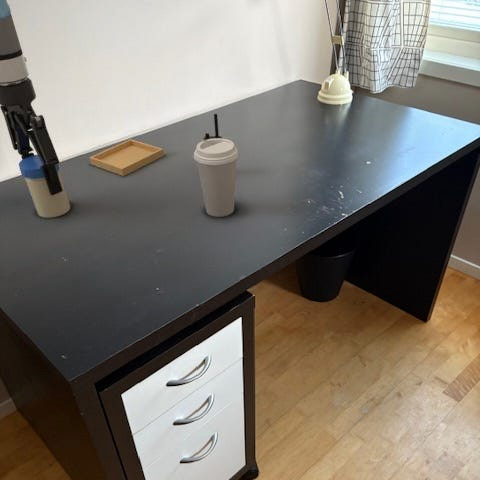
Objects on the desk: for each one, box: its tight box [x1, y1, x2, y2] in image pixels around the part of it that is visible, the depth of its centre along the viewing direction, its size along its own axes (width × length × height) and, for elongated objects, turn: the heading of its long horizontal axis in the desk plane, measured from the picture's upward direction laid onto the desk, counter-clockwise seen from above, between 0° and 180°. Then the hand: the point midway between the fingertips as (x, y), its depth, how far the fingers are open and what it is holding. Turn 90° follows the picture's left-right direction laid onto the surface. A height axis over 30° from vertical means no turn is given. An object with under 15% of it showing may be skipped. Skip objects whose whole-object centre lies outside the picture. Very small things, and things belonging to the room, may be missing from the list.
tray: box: [89, 138, 165, 177], centre depth 131 cm, size 13×15×2 cm
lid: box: [18, 153, 60, 179], centre depth 105 cm, size 8×8×2 cm
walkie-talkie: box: [202, 113, 223, 141], centre depth 119 cm, size 5×3×15 cm
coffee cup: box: [193, 138, 239, 218], centre depth 105 cm, size 10×10×15 cm
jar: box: [24, 170, 71, 219], centre depth 109 cm, size 8×8×11 cm
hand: (46, 187), depth 109 cm, fingers closed on lid, 8 cm apart
